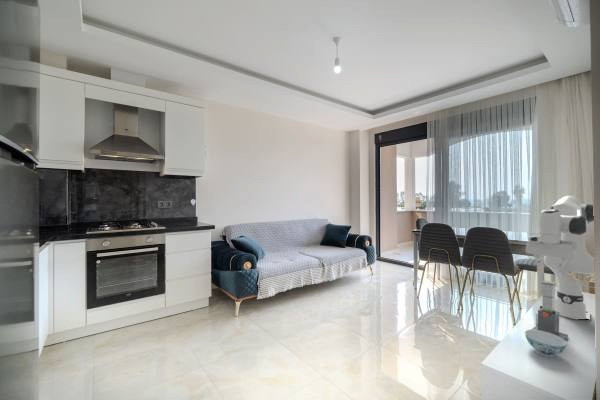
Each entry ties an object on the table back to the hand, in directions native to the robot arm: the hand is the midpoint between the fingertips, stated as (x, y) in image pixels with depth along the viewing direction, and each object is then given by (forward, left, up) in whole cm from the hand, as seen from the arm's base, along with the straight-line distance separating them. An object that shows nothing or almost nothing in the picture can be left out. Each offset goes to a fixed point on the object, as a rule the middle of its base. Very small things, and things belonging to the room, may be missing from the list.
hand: (549, 264), depth 147 cm
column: (0, 0, -32) cm, 32 cm away
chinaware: (+23, +5, -39) cm, 46 cm away
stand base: (0, 0, -39) cm, 39 cm away
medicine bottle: (-12, -4, -39) cm, 41 cm away
